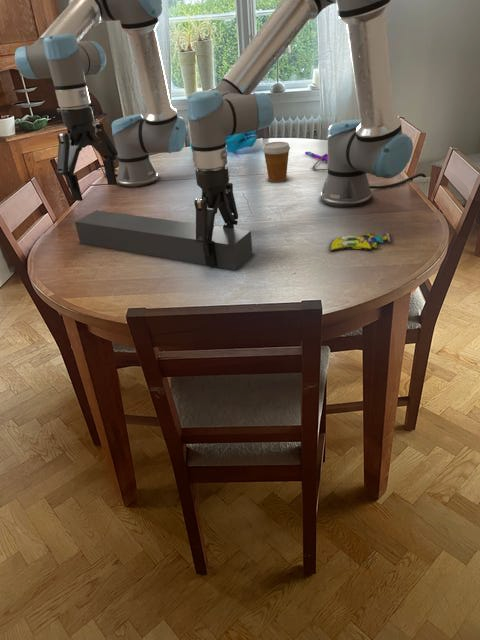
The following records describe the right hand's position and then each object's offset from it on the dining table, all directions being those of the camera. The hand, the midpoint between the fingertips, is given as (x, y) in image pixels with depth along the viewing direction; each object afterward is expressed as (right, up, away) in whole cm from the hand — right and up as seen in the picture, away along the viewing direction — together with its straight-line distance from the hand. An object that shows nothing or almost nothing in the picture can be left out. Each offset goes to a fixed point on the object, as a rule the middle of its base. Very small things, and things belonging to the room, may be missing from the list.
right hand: (221, 257), depth 121 cm
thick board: (-16, +3, +8) cm, 19 cm away
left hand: (-34, +19, +9) cm, 40 cm away
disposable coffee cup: (+18, +35, +52) cm, 65 cm away
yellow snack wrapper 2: (+35, +4, +2) cm, 36 cm away
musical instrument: (+37, +45, +64) cm, 86 cm away
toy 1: (-2, +58, +91) cm, 107 cm away
